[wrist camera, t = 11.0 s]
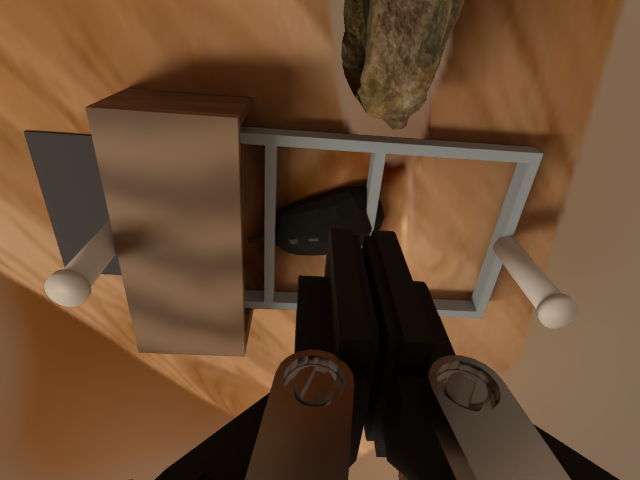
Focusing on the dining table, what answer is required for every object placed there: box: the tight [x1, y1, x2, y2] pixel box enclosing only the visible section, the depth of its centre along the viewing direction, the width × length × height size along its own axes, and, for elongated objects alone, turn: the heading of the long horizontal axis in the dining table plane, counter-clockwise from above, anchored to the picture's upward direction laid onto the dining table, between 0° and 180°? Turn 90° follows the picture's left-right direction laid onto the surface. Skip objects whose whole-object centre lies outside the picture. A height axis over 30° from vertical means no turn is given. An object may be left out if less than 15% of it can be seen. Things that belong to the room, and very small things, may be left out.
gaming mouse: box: [248, 187, 384, 255], centre depth 41 cm, size 6×15×4 cm, turn 106°
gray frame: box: [44, 126, 579, 328], centre depth 37 cm, size 20×42×13 cm, turn 86°
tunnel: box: [86, 88, 253, 357], centre depth 39 cm, size 25×11×8 cm, turn 176°
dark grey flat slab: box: [24, 131, 122, 275], centre depth 41 cm, size 16×7×1 cm, turn 176°
